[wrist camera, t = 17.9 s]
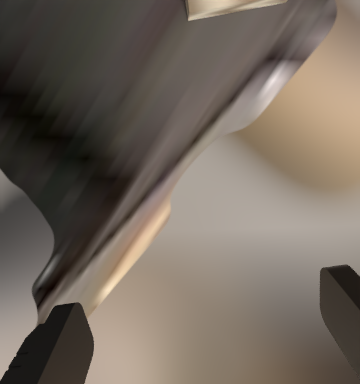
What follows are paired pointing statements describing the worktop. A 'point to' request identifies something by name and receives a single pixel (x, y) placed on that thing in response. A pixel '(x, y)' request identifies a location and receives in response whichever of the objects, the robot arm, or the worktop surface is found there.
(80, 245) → the worktop surface
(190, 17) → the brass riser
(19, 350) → the robot arm
